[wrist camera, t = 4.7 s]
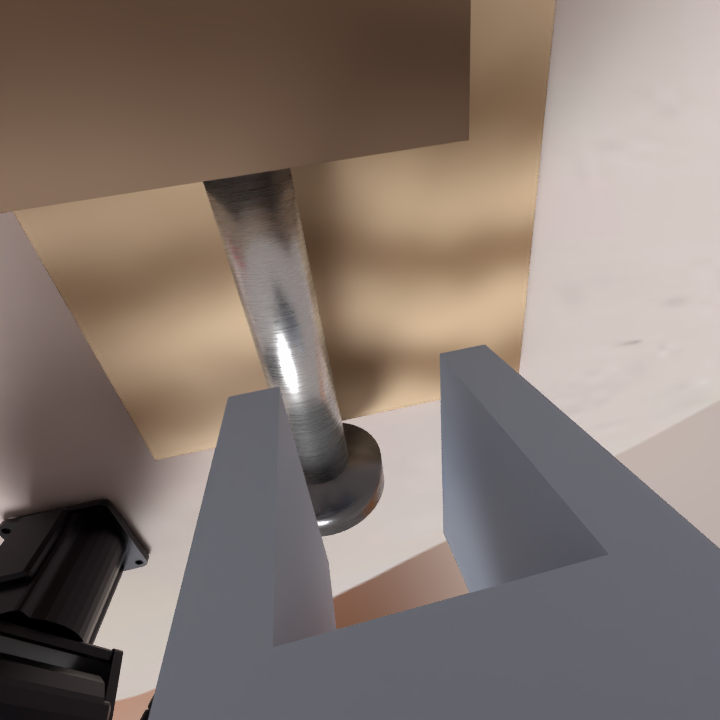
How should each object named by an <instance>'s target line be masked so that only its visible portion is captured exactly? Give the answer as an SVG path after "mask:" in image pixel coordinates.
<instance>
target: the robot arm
mask: <svg viewBox="0 0 720 720" xmlns="http://www.w3.org/2000/svg"><path fill="white" fill-rule="evenodd" d="M0 536H1V537H2V538H3V539H4V542H3V543H2V544H1V546H0V720H112V717H113V711H114V705H115V699H116V693H117V687H118V681H119V675H120V669H121V662H122V656H123V651H121V650H118V649H112V650H110V649H106V648H103V647H99V646H95V645H93V643H94V641H95V638H96V636H97V633H98V631H99V628H100V626H101V624H102V621H103V619H104V616H105V614H106V611H107V609H108V607H109V604H110V602H111V599H112V597H113V595H114V592H115V590H116V587H117V585H118V582H119V580H120V578H121V575H122V573H123V571H126V570H130V569H134V568H138V567H143V566H145V565H146V564H147V562H148V559H149V555H148V554H147V552H146V551H145V550H144V548H143V547H142V545H141V544H140V543H139V541H138V540H137V538H136V537H135V535H134V534H133V533H132V531H131V530H130V528H129V527H128V526H127V524H126V523H125V521H124V520H123V519H122V517H121V516H120V514H119V513H118V512H117V510H116V509H115V507H114V506H113V505H112V503H111V502H110V501H107V500H96V501H92V502H87V503H82V504H78V505H73V506H69V507H64V508H59V509H55V510H50V511H46V512H41V513H37V514H32V515H27V516H23V517H18V518H14V519H9V520H5V521H3V522H2V523H1V524H0ZM153 698H154V696H153ZM153 698H152V699H151V701H150V703H149V705H148V709H149V710H148V709H147V710H145V712H144V714H143V715H142V717H141V719H140V720H148V718H149V714H150V710H151V706H152V702H153Z"/></svg>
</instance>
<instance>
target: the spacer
mask: <svg viewBox="0 0 720 720" xmlns="http://www.w3.org/2000/svg"><path fill="white" fill-rule="evenodd" d="M440 395H441V440H442V485H443V531H444V535H445V537H446V539H447V542H448V544H449V546H450V549H451V551H452V553H453V555H454V558H455V560H456V562H457V565H458V567H459V569H460V571H461V574H462V576H463V578H464V581H465V583H466V585H467V587H468V590H469V592H470V593H467V594H464V595H460V596H457V597H453V598H449V599H446V600H442V601H439V602H435V603H431V604H428V605H424V606H421V607H417V608H413V609H410V610H406V611H402V612H399V613H395V614H392V615H388V616H384V617H381V618H377V619H373V620H370V621H366V622H363V623H359V624H356V625H352V626H348V627H345V628H341V629H337V630H336V625H335V616H334V607H333V598H332V589H331V580H330V571H329V562H328V559H327V555H326V552H325V548H324V544H323V541H322V537H321V534H320V530H319V527H318V523H317V519H316V516H315V512H314V509H313V505H312V502H311V498H310V494H309V491H308V487H307V484H306V480H305V477H304V473H303V469H302V466H301V462H300V459H299V455H298V452H297V448H296V444H295V441H294V437H293V434H292V430H291V427H290V423H289V419H288V416H287V412H286V409H285V405H284V402H283V398H282V394H281V391H280V387H274V388H269V389H264V390H259V391H254V392H249V393H245V394H240V395H235V396H230V397H228V400H227V404H226V408H225V412H224V416H223V420H222V424H221V428H220V432H219V436H218V440H217V444H216V448H215V452H214V456H213V460H212V464H211V468H210V472H209V476H208V480H207V484H206V488H205V492H204V496H203V500H202V505H201V509H200V513H199V517H198V521H197V525H196V529H195V533H194V537H193V541H192V545H191V549H190V553H189V557H188V561H187V565H186V569H185V573H184V577H183V581H182V585H181V589H180V593H179V597H178V601H177V605H176V609H175V613H174V617H173V621H172V626H171V630H170V634H169V638H168V642H167V646H166V650H165V654H164V658H163V662H162V666H161V670H160V674H159V678H158V682H157V686H156V690H155V694H154V698H153V702H152V706H151V710H150V714H149V718H148V720H720V548H718V547H717V546H716V545H715V544H714V543H713V542H711V541H710V540H709V539H708V538H707V537H706V536H705V535H704V534H702V533H701V532H700V531H699V530H698V529H697V528H695V527H694V526H693V525H692V524H691V523H690V522H688V521H687V520H686V519H685V518H684V517H683V516H682V515H680V514H679V513H678V512H677V511H676V510H675V509H674V508H672V507H671V506H670V505H669V504H668V503H667V502H666V501H664V500H663V499H662V498H661V497H660V496H659V495H658V494H656V493H655V492H654V491H653V490H651V489H650V488H649V487H648V486H647V485H646V484H645V483H644V482H643V481H641V480H640V479H639V478H638V477H637V476H636V475H634V474H633V473H632V472H631V471H630V470H629V469H628V468H627V467H625V466H624V465H623V464H622V463H620V462H619V461H618V460H617V459H616V458H615V457H614V456H613V455H612V454H610V453H609V452H608V451H607V450H606V449H605V448H604V447H602V446H601V445H600V444H599V443H598V442H597V441H595V440H594V439H593V438H592V437H591V436H590V435H589V434H587V433H586V432H585V431H584V430H583V429H582V428H581V427H579V426H578V425H577V424H576V423H575V422H574V421H572V420H571V419H570V418H569V417H568V416H567V415H566V414H564V413H563V412H562V411H561V410H560V409H559V408H558V407H556V406H555V405H554V404H553V403H552V402H551V401H550V400H548V399H547V398H546V397H545V396H544V395H543V394H541V393H540V392H539V391H538V390H537V389H536V388H535V387H533V386H532V385H531V384H530V383H529V382H528V381H527V380H525V379H524V378H523V377H522V376H521V375H520V374H518V373H517V372H516V371H515V370H514V369H513V368H512V367H510V366H509V365H508V364H507V363H506V362H505V361H504V360H502V359H501V358H500V357H499V356H498V355H497V354H495V353H494V352H493V351H492V350H491V349H490V348H489V347H487V346H486V345H485V344H484V345H479V346H474V347H469V348H465V349H460V350H455V351H450V352H445V353H440Z"/></svg>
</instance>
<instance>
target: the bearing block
mask: <svg viewBox="0 0 720 720" xmlns="http://www.w3.org/2000/svg"><path fill="white" fill-rule="evenodd" d="M555 4H556V0H0V213H5V212H11V211H13V212H14V214H15V216H16V218H17V219H18V221H19V223H20V225H21V226H22V228H23V230H24V232H25V233H26V235H27V237H28V239H29V240H30V242H31V244H32V246H33V247H34V249H35V251H36V253H37V254H38V256H39V258H40V260H41V261H42V263H43V265H44V267H45V268H46V270H47V272H48V274H49V275H50V277H51V279H52V281H53V282H54V284H55V286H56V288H57V289H58V291H59V293H60V295H61V296H62V298H63V300H64V302H65V303H66V305H67V307H68V309H69V310H70V312H71V314H72V316H73V317H74V319H75V321H76V323H77V324H78V326H79V328H80V330H81V331H82V333H83V335H84V337H85V338H86V340H87V342H88V344H89V345H90V347H91V349H92V351H93V352H94V354H95V356H96V358H97V359H98V361H99V363H100V365H101V366H102V368H103V370H104V372H105V373H106V375H107V377H108V379H109V380H110V382H111V384H112V386H113V387H114V389H115V391H116V393H117V394H118V396H119V398H120V400H121V401H122V403H123V405H124V407H125V408H126V410H127V412H128V414H129V415H130V417H131V419H132V421H133V422H134V424H135V426H136V428H137V429H138V431H139V433H140V435H141V436H142V438H143V440H144V442H145V443H146V445H147V447H148V449H149V450H150V452H151V454H152V456H153V457H154V459H155V460H159V459H163V458H168V457H173V456H178V455H182V454H187V453H192V452H196V451H201V450H206V449H210V448H215V447H216V444H217V440H218V436H219V432H220V428H221V424H222V420H223V416H224V412H225V408H226V404H227V400H228V397H230V396H235V395H240V394H245V393H249V392H254V391H259V390H264V389H268V386H267V383H266V380H265V377H264V374H263V371H262V367H261V364H260V361H259V358H258V355H257V352H256V348H255V345H254V342H253V339H252V336H251V332H250V329H249V326H248V323H247V320H246V317H245V313H244V310H243V307H242V304H241V301H240V298H239V294H238V291H237V288H236V285H235V282H234V279H233V275H232V272H231V269H230V266H229V263H228V260H227V256H226V253H225V250H224V247H223V244H222V240H221V237H220V234H219V231H218V228H217V225H216V221H215V218H214V215H213V212H212V209H211V206H210V202H209V199H208V196H207V193H206V190H205V187H204V183H203V181H210V180H216V179H223V178H229V177H236V176H242V175H248V174H255V173H261V172H268V171H274V170H280V169H287V168H290V170H291V175H292V180H293V185H294V190H295V195H296V199H297V204H298V209H299V214H300V219H301V224H302V229H303V234H304V239H305V244H306V249H307V253H308V258H309V263H310V268H311V273H312V278H313V283H314V288H315V293H316V298H317V303H318V307H319V312H320V317H321V322H322V327H323V332H324V337H325V342H326V347H327V352H328V356H329V361H330V366H331V371H332V376H333V381H334V386H335V391H336V396H337V401H338V406H339V410H340V415H341V420H347V419H352V418H356V417H361V416H366V415H370V414H375V413H380V412H384V411H389V410H394V409H399V408H403V407H408V406H413V405H417V404H422V403H427V402H431V401H436V400H441V395H440V353H445V352H450V351H455V350H460V349H465V348H469V347H474V346H479V345H484V344H485V345H486V346H487V347H489V348H490V349H491V350H492V351H493V352H494V353H495V354H497V355H498V356H499V357H500V358H501V359H502V360H504V361H505V362H506V363H507V364H508V365H509V366H510V367H512V368H513V369H514V370H515V371H516V372H517V373H518V374H519V366H520V356H521V346H522V336H523V326H524V316H525V306H526V295H527V285H528V275H529V265H530V255H531V245H532V235H533V225H534V215H535V205H536V195H537V185H538V175H539V165H540V155H541V145H542V135H543V125H544V115H545V105H546V95H547V85H548V75H549V64H550V54H551V44H552V34H553V24H554V14H555Z"/></svg>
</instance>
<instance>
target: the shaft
mask: <svg viewBox="0 0 720 720" xmlns="http://www.w3.org/2000/svg"><path fill="white" fill-rule="evenodd" d="M203 183H204V187H205V190H206V193H207V196H208V199H209V202H210V206H211V209H212V212H213V215H214V218H215V221H216V225H217V228H218V231H219V234H220V237H221V240H222V244H223V247H224V250H225V253H226V256H227V260H228V263H229V266H230V269H231V272H232V275H233V279H234V282H235V285H236V288H237V291H238V294H239V298H240V301H241V304H242V307H243V310H244V313H245V317H246V320H247V323H248V326H249V329H250V332H251V336H252V339H253V342H254V345H255V348H256V352H257V355H258V358H259V361H260V364H261V367H262V371H263V374H264V377H265V380H266V383H267V386H268V389H269V388H274V387H280V391H281V394H282V398H283V402H284V405H285V409H286V412H287V416H288V419H289V423H290V427H291V430H292V434H293V437H294V441H295V444H296V448H297V452H298V455H299V459H300V462H301V466H302V469H303V473H304V477H305V480H306V484H307V487H308V491H309V494H310V498H311V502H312V505H313V509H314V512H315V516H316V519H317V523H318V527H319V530H320V534H321V536H328V535H333V534H336V533H340V532H342V531H345V530H347V529H349V528H351V527H353V526H355V525H356V524H358V523H359V522H361V521H362V520H363V519H364V518H366V517H367V516H368V515H369V514H370V513H371V511H372V510H373V509H374V508H375V506H376V505H377V503H378V502H379V499H380V497H381V495H382V492H383V487H384V474H383V467H382V460H381V453H380V449H379V446H378V444H377V442H376V441H375V439H374V438H373V437H372V436H371V435H370V434H369V433H368V432H367V431H365V430H363V429H362V428H359V427H357V426H354V425H351V424H346V423H342V420H341V415H340V410H339V406H338V401H337V396H336V391H335V386H334V381H333V376H332V371H331V366H330V361H329V356H328V352H327V347H326V342H325V337H324V332H323V327H322V322H321V317H320V312H319V307H318V303H317V298H316V293H315V288H314V283H313V278H312V273H311V268H310V263H309V258H308V253H307V249H306V244H305V239H304V234H303V229H302V224H301V219H300V214H299V209H298V204H297V199H296V195H295V190H294V185H293V180H292V175H291V170H290V168H287V169H280V170H274V171H268V172H261V173H255V174H248V175H242V176H236V177H229V178H223V179H216V180H210V181H203Z"/></svg>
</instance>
